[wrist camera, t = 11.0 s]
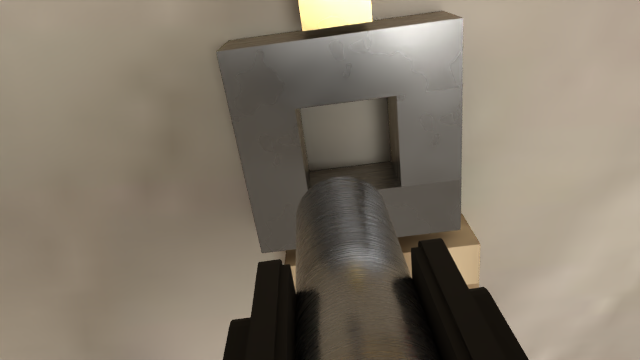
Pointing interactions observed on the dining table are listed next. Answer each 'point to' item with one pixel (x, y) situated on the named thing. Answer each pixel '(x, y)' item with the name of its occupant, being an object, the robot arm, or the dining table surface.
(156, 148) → the dining table surface
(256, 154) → the socket
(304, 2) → the yellow rectangular block
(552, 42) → the dining table surface
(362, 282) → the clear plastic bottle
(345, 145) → the dining table surface
